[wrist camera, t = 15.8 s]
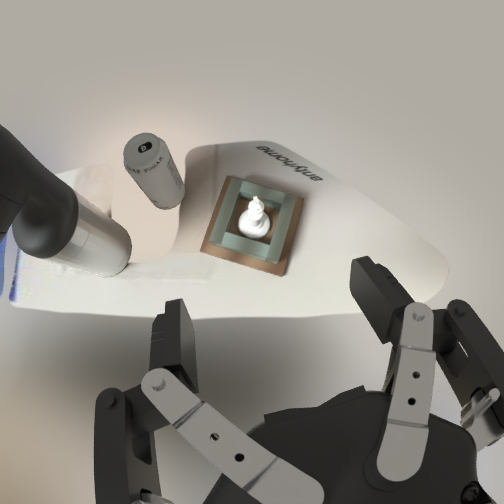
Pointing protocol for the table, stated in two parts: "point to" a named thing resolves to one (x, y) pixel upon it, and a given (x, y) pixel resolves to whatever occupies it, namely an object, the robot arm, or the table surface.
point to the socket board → (263, 240)
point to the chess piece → (254, 221)
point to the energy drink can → (154, 170)
